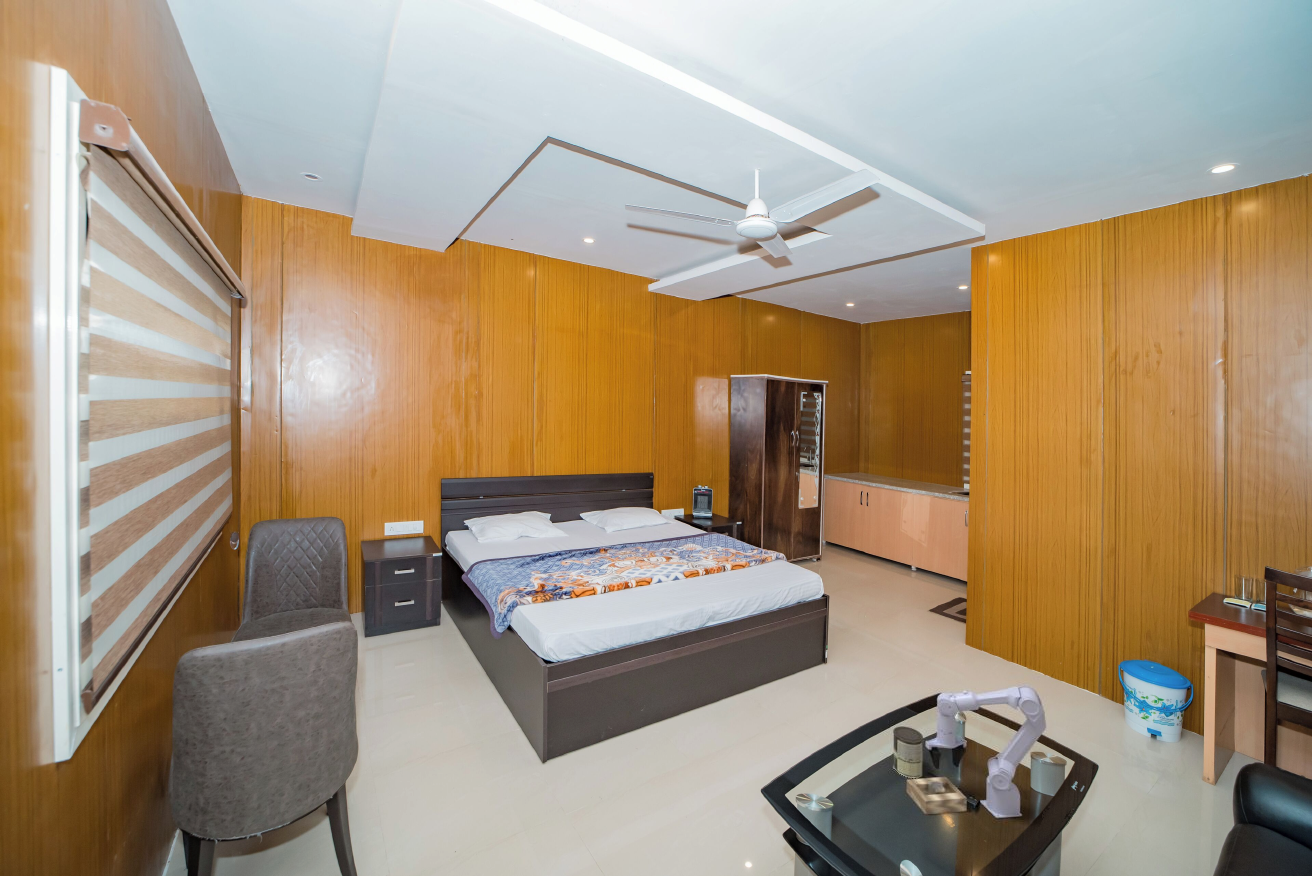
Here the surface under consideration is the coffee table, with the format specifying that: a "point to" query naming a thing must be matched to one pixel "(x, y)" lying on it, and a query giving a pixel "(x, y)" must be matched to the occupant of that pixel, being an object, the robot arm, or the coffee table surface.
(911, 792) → the tan wooden rectangular frame
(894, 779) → the coffee table surface
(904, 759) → the coffee can
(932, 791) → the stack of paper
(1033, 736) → the robot arm
